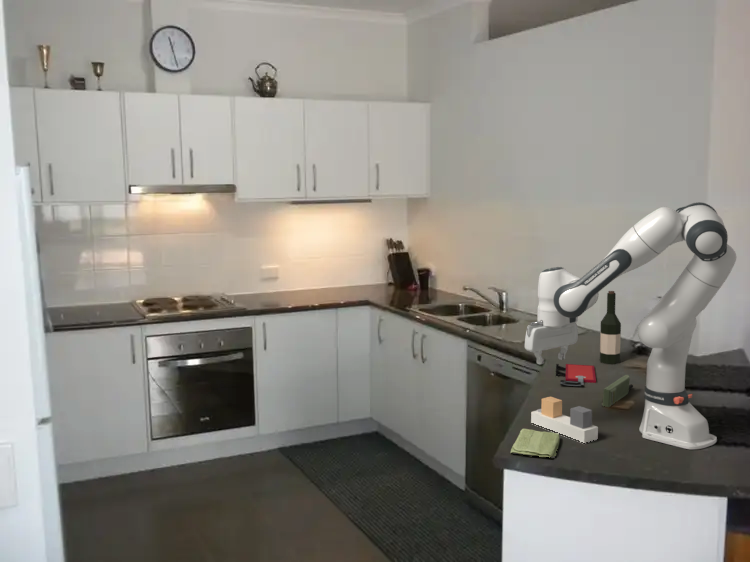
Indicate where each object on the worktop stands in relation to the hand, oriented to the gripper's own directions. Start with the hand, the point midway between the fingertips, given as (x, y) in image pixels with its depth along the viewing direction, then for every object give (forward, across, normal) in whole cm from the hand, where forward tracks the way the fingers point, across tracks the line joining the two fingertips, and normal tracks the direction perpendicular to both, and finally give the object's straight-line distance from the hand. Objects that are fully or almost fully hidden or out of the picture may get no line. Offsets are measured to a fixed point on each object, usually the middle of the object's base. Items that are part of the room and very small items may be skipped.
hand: (551, 361), depth 236 cm
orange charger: (+19, 0, -1) cm, 19 cm away
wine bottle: (+21, +77, +40) cm, 89 cm away
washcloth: (+22, -16, -10) cm, 29 cm away
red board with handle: (+22, +49, +34) cm, 63 cm away
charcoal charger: (+19, 0, -13) cm, 23 cm away
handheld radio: (+22, +41, +6) cm, 47 cm away
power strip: (+21, 0, -6) cm, 22 cm away
